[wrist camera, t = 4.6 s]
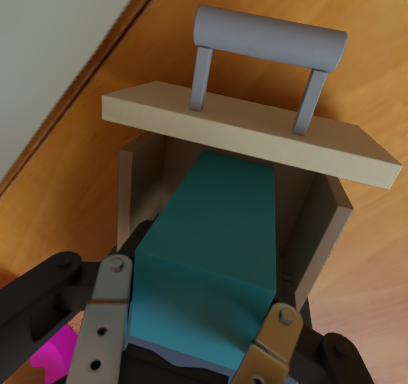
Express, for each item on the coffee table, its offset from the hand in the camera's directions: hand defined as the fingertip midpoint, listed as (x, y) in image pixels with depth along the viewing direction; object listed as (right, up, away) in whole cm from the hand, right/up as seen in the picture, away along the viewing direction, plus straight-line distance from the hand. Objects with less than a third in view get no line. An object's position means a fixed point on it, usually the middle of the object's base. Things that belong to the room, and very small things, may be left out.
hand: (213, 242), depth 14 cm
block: (+1, +3, +6) cm, 6 cm away
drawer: (+2, +5, +6) cm, 8 cm away
